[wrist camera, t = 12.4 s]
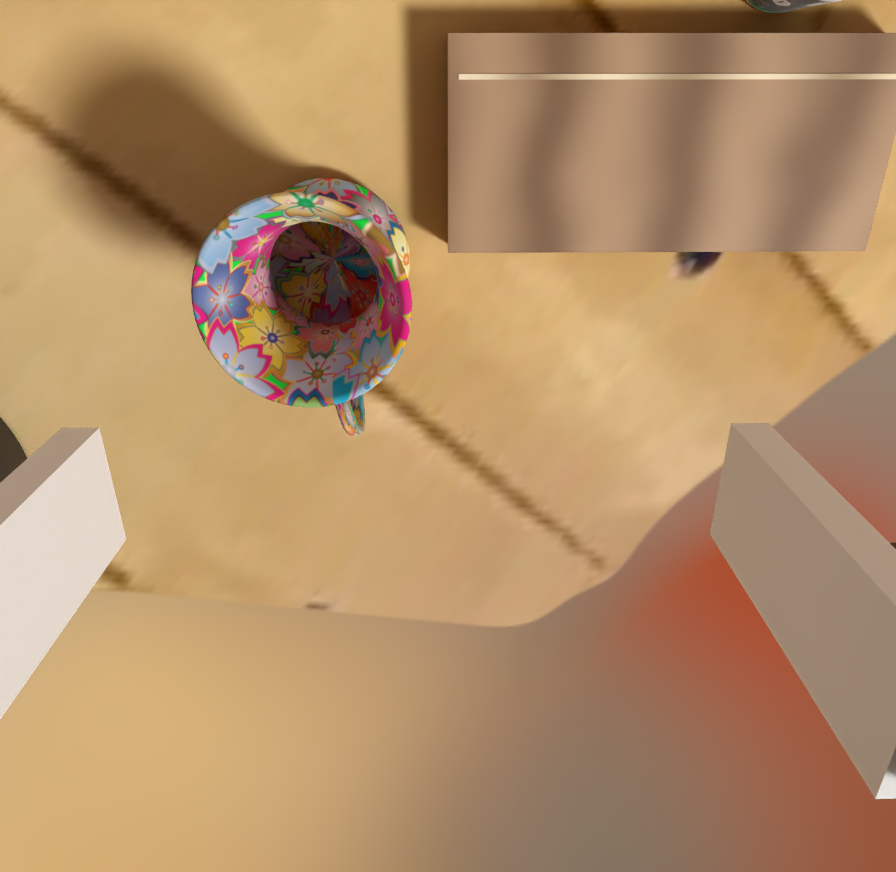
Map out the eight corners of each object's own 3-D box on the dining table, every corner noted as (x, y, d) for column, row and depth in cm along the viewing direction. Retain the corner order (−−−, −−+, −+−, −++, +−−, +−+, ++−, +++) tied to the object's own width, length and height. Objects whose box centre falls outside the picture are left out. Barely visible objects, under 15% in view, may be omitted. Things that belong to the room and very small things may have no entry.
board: (447, 243, 39) (448, 253, 37) (447, 37, 35) (448, 32, 32) (840, 242, 39) (865, 251, 37) (889, 37, 35) (921, 32, 33)
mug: (225, 191, 38) (153, 224, 28) (392, 148, 37) (377, 166, 27) (297, 393, 43) (258, 478, 33) (445, 358, 42) (449, 436, 32)
